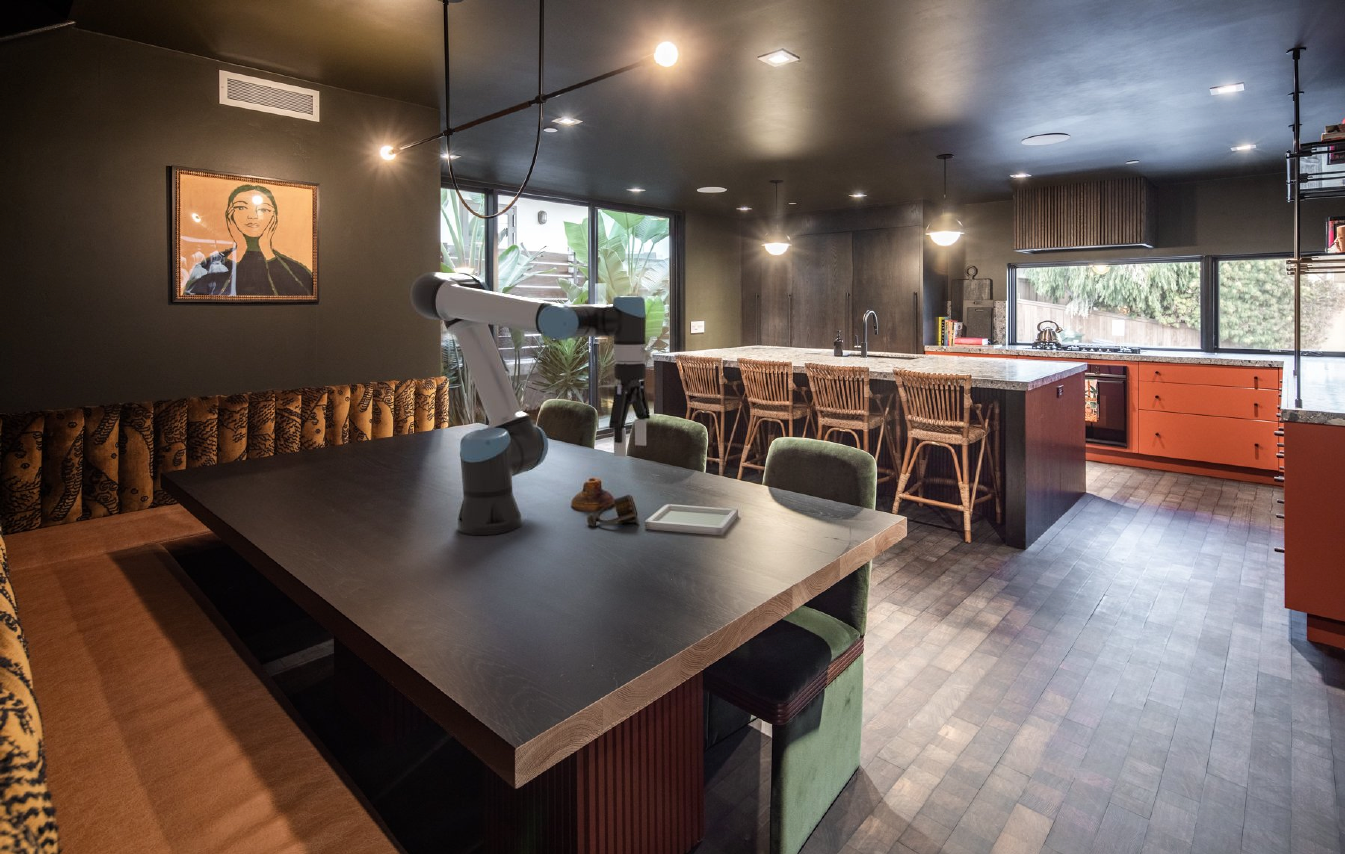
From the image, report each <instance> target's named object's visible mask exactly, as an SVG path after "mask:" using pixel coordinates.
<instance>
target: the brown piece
mask: <svg viewBox="0 0 1345 854" xmlns="http://www.w3.org/2000/svg"><path fill="white" fill-rule="evenodd" d="M613 502H614V503H613V504H610V505H608V506H606V507H604V508H602V509H601V510H598V512H597V513H596V515H595V514H594V513H593V512H591V513H589V514H588V516H587V520H586V521H587V523H588V525H589V526H591V527H596V526H597V522H598V523H600V524H603V525H612V524H616V523H619V524H620V525H623V524H624V525H625V524H626V523H629V522H632V521H635V523H636V524H637V525H639V524H640V521H639V518H638V510H637V507H636V504H635V503H636V502H635V500H634V497H633V495H631V494H630V493H629V494H627V495H624V496H620V497H617V498H614V500H613ZM614 508H615V512H616V514H617V517H616V518H613V519H608V520H604V519H601V518H600V517H601V515H602V514H603V513H604V512H606V511H608V510H611V509H614Z"/></svg>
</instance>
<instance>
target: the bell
mask: <svg viewBox="0 0 1345 854" xmlns="http://www.w3.org/2000/svg"><path fill="white" fill-rule="evenodd" d="M582 486H583V487H582V490H581V491H580V492H578V493H577V494H575V496H573V498H572V500H571V501H570V502H571V503H570V504H571V506H572V508H574V509H575V510H579V511H586V512H587V511H588V512H596V511H600V510H601V509H602V508H604V507H606V506H608V505H610V504H613V503H614V502H613V500H614V499H615V498H614V496H613V495H612V494H611V493H610V492H608V490H605V489H603V488H602V480H601V479H600V478H598V477H597V478H596V477H590V478H589V479H588V481H585V482H584V483H583V485H582Z"/></svg>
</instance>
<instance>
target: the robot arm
mask: <svg viewBox="0 0 1345 854" xmlns="http://www.w3.org/2000/svg"><path fill="white" fill-rule="evenodd" d="M410 302H411V305H412V306H413V308H414V310H415V311H416V312H417V313H418V314H419V315H420V316H422V317H424V318H426V319H430V320H434V321H435V320H438V321H440V320H441V321H443V323H444V326H445V328H446V330H447V332H448V333H449V334H451V335H454V337H456V340H457V343H458V345H459V347H460V350H461V352H462V355H463V358H464V360H465V364H466V365H467V368H468V371H469V374H470V376H471V379H472V382H473V383H474V387H475V388H476V391H477V394H478V397H479V399H480V401H481V404H482V407H483V409H484V413H485V414H486V417H487V419H488V426H487V427H486V428H483V429H477V430H472V431H470V432H469V433H466V434H465V435H464V436H463V437H462V438H461V439H460V442H459V443H460V444H459V445H460V446H459V457H460V469H461V478H462V479H461V480H462V493H463V494H462V495H463V498H462V502H461V505H460V510H459V514H458V518H457V529H458V532H460V533H462V534H464V535H465V534H466V535H471V536H472V535H473V536H490V535H491V536H492V535H497V534H498V535H499V534H505V533H507V532H510V531H514V530H516V529H518V528H520V526H522V523H523V522H522V513H521V512H520V509H519V506H518V503H517V501H516V498H515V495H514V493H513V477H515V476H517V475H520V474H523V473H524V472H525V473H526V472H529V471H532V470H534V469H535V468H537V467H538V466H540V465H541V464H542V463H543V462H544V461H545V459H546V457H547V454H548V452H549V440H548V436H547V435H546V433H545V431H544V430H543V429H542V428H541V427H539V426H538V425H536V424H533V420H532V419H531V416H530V414H529V413H528V412H527V413H526V412H524V411H522V409H521V407H520V405H519V401H518V399H517V397H516V394H515V391H514V388H513V386H512V384H511V381H510V379H509V376H508V373H507V370H506V368H505V366H504V363H503V361H502V358H501V355H500V353H499V350H498V347H497V345H496V342H495V340H494V338H493V335H492V332H491V329H490V327H489V326H490V325H491V326H497V327H502V328H507V329H513V330H518V331H524V332H527V333H528V332H529V333H534V334H538V335H544V336H545V337H547V338H548V339H551V340H559V341H564V340H567V339H568V340H569V339H576V338H578V339H579V338H588V337H612V338H613V361H614V362H615V363H614V364H613V373H614V374H613V375H614V379H615V380H620V384H618V385H617V384H615V385H614V387H613V388H614V391H613V400H612V406H611V412H610V418H609V424H608V427H609V429H613V457H615V456H616V457H623V458H624V457H626V456H627V434H626V433H627V432H626V431H627V428H625V425H626V421H627V417H628V413H629V410H630V406H632V409H633V412H634V414H635V417H636V418H635V419H634V445H635V446H647V420H649V419H650V418H651V415H650V408H649V402H648V397H647V393H646V382H645V379H646V378H647V364H646V363H645V361H646V355H647V354H646V353H648V348H646V345H647V344H646V343H647V342H646V333H647V332H646V330H647V328H646V326H647V325H646V320H647V319H646V318H647V314H646V313H647V312H646V301H645V298H644V297H642V296H640V295H639V296H636V295H632V296H631V295H629V296H627V295H622V296H621V295H619V296H618V295H616V296H614V297H613V301H612V304H589V303H588V304H586V303H577V304H565V303H558V302H554V301H545V300H540V299H535V298H530V297H523V296H516V295H512V294H507V293H506V294H505V293H501V292H500V293H499V292H496V291H490V288H489V286H488V285H487V284H486V282H485V281H484V280H483V279H481V278H480V277H478V276H477V275H473V274H469V273H465V272H457V273H455V272H440V271H430V272H426V273H423V274H421V275H420V276H419V277H417V279H415V280H414V281H413V284H412V285H411V288H410Z"/></svg>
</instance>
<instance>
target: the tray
mask: <svg viewBox="0 0 1345 854" xmlns="http://www.w3.org/2000/svg"><path fill="white" fill-rule="evenodd" d="M738 517H739V508H726V507H712V506H711V507H710V506H702V505H701V506H700V505H699V506H698V505H688V504H687V505H684V504H670V503H666V504H664V505H663V506H662V507H661V508H659V510H657V511H656V512H655V513H653V514H652V515H651V516H650V517H648V518H647V519H646V520H645V521H644V529H645V530H655V531H665V532H678V533H689V534H700V535H701V534H702V535H713V536H723V535H724V534H725V532H726V531H727V530H728V529H729V528H730V527H731V525H732V524H733V523H734V522H735V520H736V519H737V518H738Z"/></svg>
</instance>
